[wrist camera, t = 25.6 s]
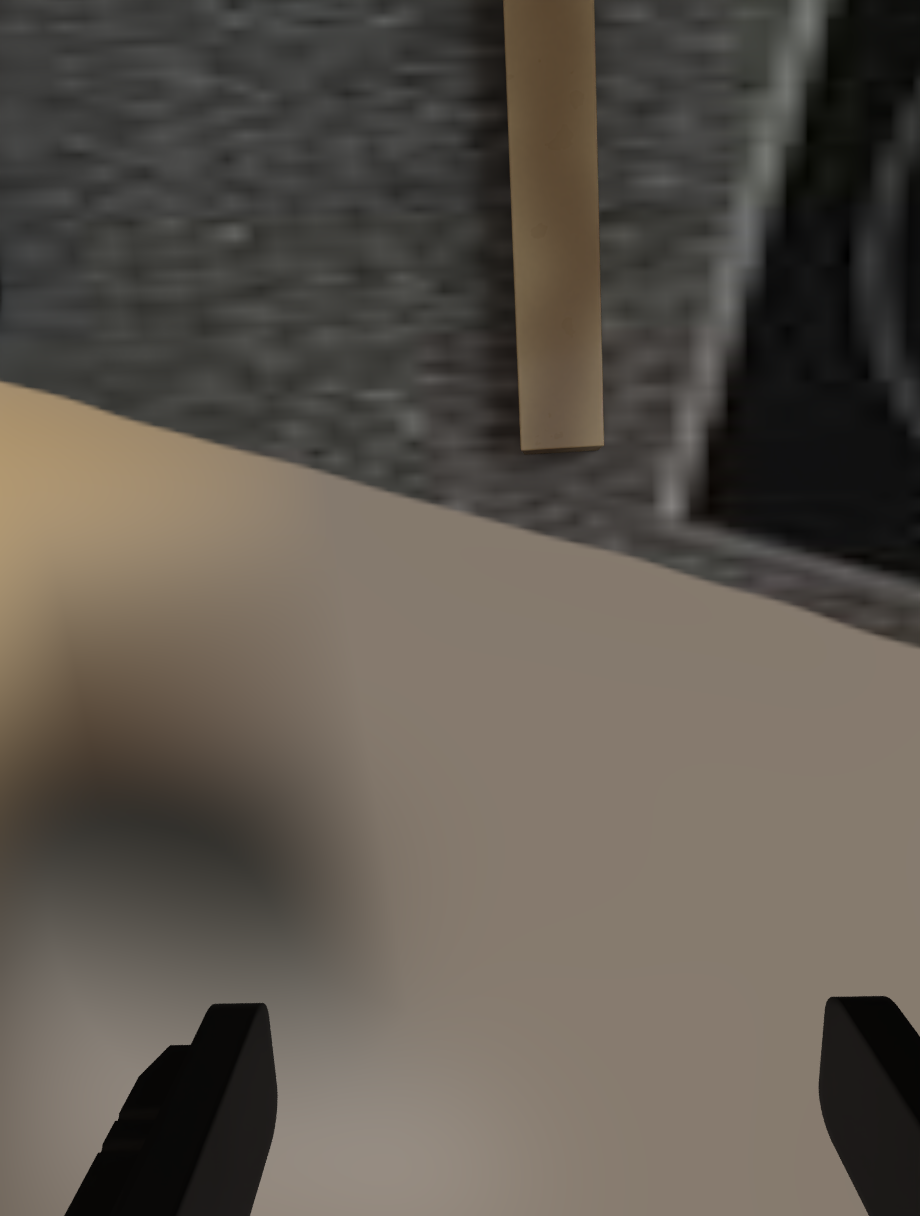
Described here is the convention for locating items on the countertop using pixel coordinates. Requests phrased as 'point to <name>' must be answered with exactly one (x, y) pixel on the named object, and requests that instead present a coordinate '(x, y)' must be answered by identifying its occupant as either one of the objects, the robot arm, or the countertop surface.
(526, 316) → the beech bar
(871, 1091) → the robot arm
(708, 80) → the countertop surface
